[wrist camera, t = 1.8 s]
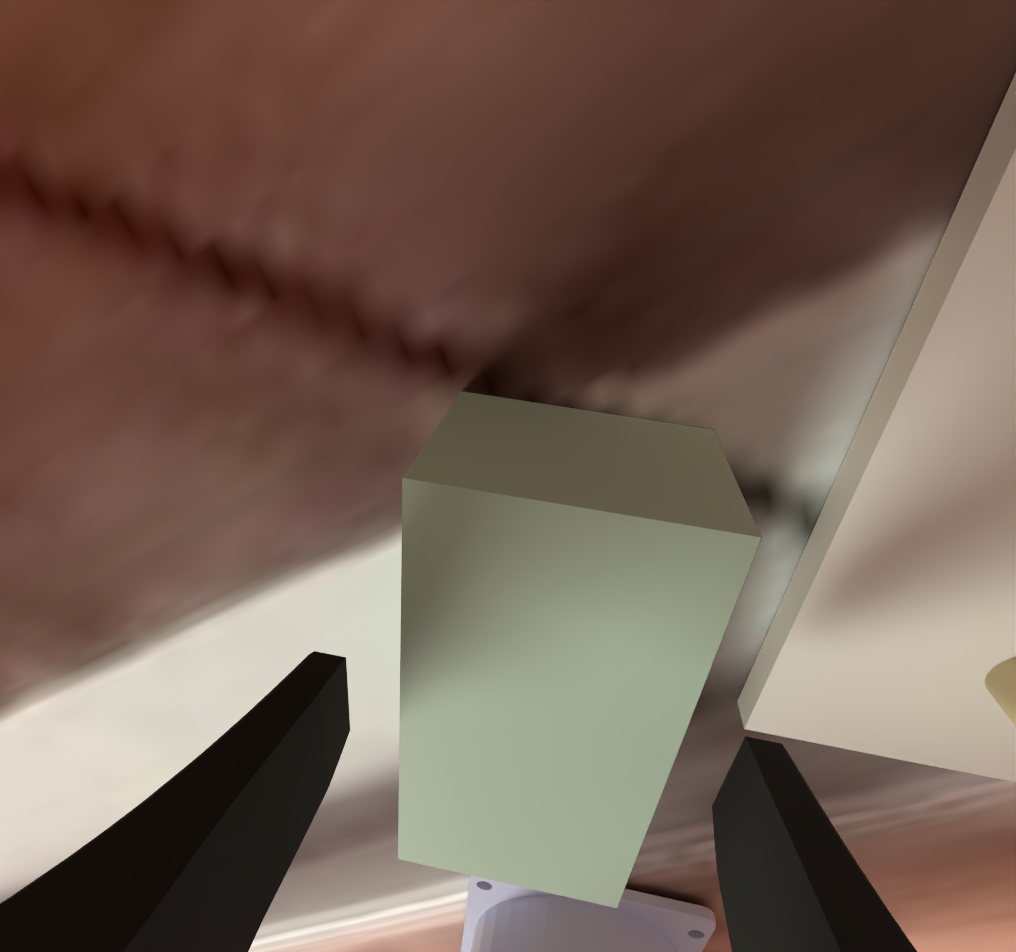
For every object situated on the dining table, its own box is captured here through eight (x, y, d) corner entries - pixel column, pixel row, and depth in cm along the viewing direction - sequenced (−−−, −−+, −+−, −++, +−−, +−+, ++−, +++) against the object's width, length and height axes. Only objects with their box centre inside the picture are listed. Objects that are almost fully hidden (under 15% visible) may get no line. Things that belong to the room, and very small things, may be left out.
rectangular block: (614, 747, 16) (617, 908, 12) (442, 713, 16) (398, 859, 13) (711, 424, 11) (761, 537, 7) (464, 387, 11) (402, 478, 8)
